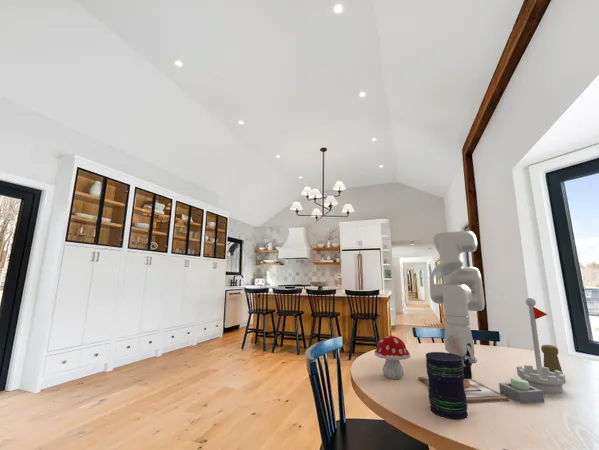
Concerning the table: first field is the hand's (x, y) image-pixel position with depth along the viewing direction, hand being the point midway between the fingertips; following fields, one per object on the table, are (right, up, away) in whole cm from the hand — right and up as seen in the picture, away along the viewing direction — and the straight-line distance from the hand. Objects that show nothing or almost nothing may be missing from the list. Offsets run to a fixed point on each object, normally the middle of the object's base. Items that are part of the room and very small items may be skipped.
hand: (462, 375), depth 100 cm
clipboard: (-1, -5, 0) cm, 5 cm away
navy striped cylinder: (-13, -2, -17) cm, 22 cm away
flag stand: (+28, -5, +1) cm, 28 cm away
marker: (0, -3, -1) cm, 3 cm away
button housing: (+15, -3, -7) cm, 17 cm away
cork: (+43, -7, +13) cm, 45 cm away
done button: (+15, -2, -7) cm, 16 cm away
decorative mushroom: (-19, -7, +13) cm, 25 cm away
